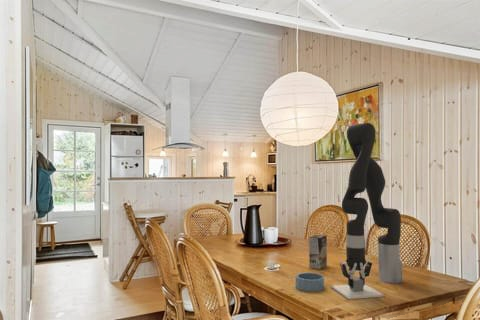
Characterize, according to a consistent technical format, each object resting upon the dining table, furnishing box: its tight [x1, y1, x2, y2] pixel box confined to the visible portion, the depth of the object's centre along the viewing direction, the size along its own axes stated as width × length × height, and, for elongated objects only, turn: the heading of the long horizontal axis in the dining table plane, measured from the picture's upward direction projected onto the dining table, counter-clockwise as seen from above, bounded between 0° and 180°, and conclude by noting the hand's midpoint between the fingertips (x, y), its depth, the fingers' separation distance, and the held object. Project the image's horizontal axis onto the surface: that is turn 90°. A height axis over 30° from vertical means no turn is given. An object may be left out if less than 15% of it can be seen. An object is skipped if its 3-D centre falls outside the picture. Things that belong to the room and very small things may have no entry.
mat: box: [330, 286, 386, 301], centre depth 155 cm, size 16×16×1 cm
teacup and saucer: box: [263, 260, 281, 272], centre depth 196 cm, size 9×8×4 cm
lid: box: [331, 277, 384, 300], centre depth 155 cm, size 15×15×5 cm
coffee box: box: [308, 234, 328, 270], centre depth 199 cm, size 9×6×16 cm
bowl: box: [295, 272, 326, 292], centre depth 163 cm, size 12×12×5 cm
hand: (356, 287), depth 155 cm, fingers closed on lid, 4 cm apart
